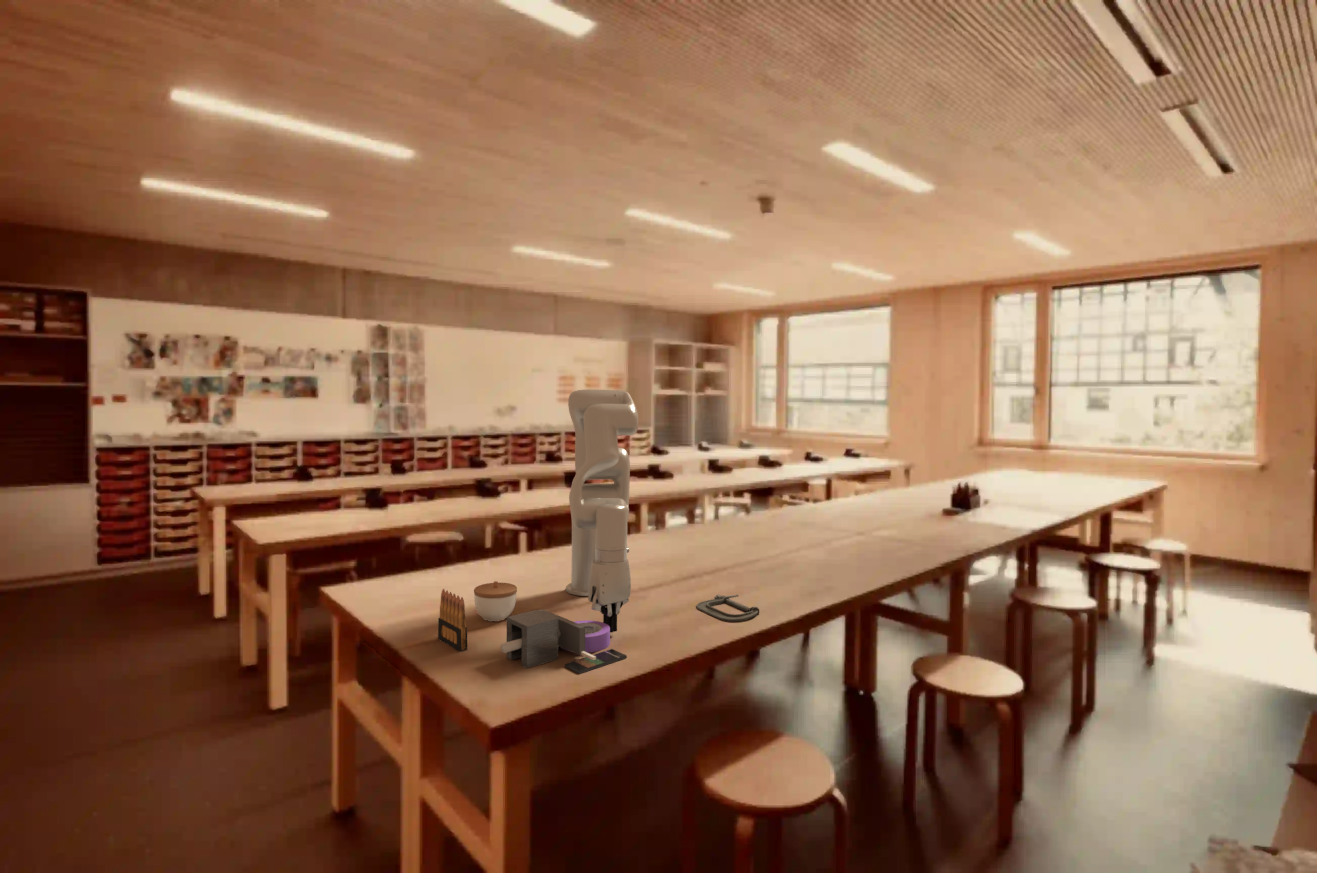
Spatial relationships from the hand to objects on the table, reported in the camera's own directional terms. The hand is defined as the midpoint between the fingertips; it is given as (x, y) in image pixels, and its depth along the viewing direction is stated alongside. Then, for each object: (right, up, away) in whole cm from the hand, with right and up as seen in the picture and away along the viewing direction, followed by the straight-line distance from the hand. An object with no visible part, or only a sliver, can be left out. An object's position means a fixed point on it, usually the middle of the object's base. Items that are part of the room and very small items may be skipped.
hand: (610, 630), depth 163 cm
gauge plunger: (-14, -1, -16) cm, 22 cm away
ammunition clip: (-36, -1, -8) cm, 36 cm away
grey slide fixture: (-8, -2, -15) cm, 17 cm away
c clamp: (+32, -1, +22) cm, 38 cm away
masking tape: (-5, -2, -6) cm, 8 cm away
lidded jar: (-30, 0, +11) cm, 32 cm away
